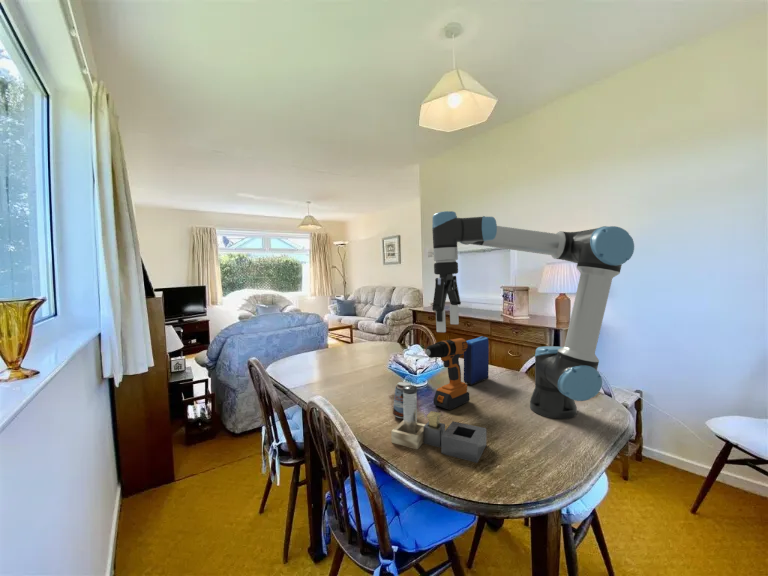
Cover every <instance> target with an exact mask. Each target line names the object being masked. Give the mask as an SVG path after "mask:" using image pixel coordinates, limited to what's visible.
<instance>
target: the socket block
mask: <svg viewBox="0 0 768 576" xmlns="http://www.w3.org/2000/svg"><path fill="white" fill-rule="evenodd" d="M423 429H424V442H423V444H425V445H428V446H432V447H435V448H436V447H437V448H441V454H442V455H446V456H449V457H453V458H458V459H462V460H465V461H468V462H473V463H476V464H477V463H478V462H479V460H480V459H481V457H482V455H483V453H484V450H485V448H486V447H487V428H485V427H480V426H477V425H472V424H468V423H467V424H466V423H462V422H458V421H455V420H454V421H453V420H452V422H451V423H450V424H449V425H448V427H447V428H446V424H445V423H442V422H440V427H439V428H438V429H437V428H432V427H429V420H428V422H426V423H425V426H424V427H423Z"/></svg>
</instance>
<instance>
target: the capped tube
mask: <svg viewBox="0 0 768 576" xmlns="http://www.w3.org/2000/svg"><path fill="white" fill-rule="evenodd" d="M417 392H418V388H417V386H416V385H414V384H411V385H406V386H404V387H403V410H404V418H403V420H404V432H406V433H410V434H414V435H415V434H416V433H417V423H418V411H417V410H418V406H417V405H418V403H417V402H418V401H417V400H418V398H417V397H418V393H417Z"/></svg>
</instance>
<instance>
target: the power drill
mask: <svg viewBox="0 0 768 576" xmlns="http://www.w3.org/2000/svg"><path fill="white" fill-rule="evenodd" d="M466 341H467V340H466V339H464V338H462V337H460V338H454V339H447V340H441V341H438V342H435V343H432V344H429V345H428V346H427V347H426V349H425V352H424V353H425V354H426V356H427V357H428V358H430V359H432V358H433V359H434V358H435V359H436V358H440V360H441V362H443V367H444V368H447V374H448V380H449V383H448V384H444V385H442V386H441V387H438V388H437V389H435V393H434V397H433V400H432V401H433V405H434V406H437V407H439V408H443V409H446V410H449V411H451V410H454V409H456V408H458V407H459V406H462V405H464V404H467V403H468V402H470V399H471V398H470V392H469V391H468V384H467V383H465V382H464V381H463V382H462V371H461V370H462V369H461V366H460V361H459V359H460V357H462V356H464V351H466V350H467V348H468V344H467V342H466Z"/></svg>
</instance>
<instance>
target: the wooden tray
mask: <svg viewBox="0 0 768 576" xmlns="http://www.w3.org/2000/svg"><path fill="white" fill-rule="evenodd" d="M425 425H426V423H420V422H417V433H416V434H415V435H414V434H410V433H406V432H404V419H403V420H402V421H401V422H399V423H398V424H397V425H396V426H395V427H394V428H393V429H392V430H391V431H390V433H391V436H390V437H391V444H392V443H393V444H396V445H399V446H404V447H407V448H411V449H414V450H419V448H421V446H422V445H423V444H424V429H423V427H424V426H425Z"/></svg>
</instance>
